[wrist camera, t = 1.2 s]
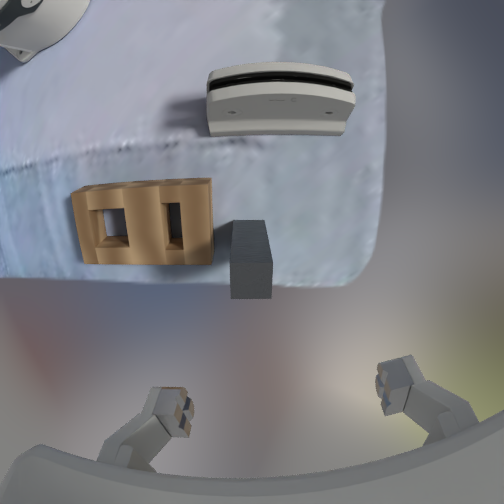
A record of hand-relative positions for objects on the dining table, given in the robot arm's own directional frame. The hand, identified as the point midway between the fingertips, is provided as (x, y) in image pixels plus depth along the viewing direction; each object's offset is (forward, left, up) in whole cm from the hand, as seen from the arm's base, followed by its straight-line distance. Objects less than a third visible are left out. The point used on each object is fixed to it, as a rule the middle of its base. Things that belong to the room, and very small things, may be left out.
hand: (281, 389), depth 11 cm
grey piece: (-4, +12, -29) cm, 32 cm away
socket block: (-11, -10, -29) cm, 32 cm away
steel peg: (+2, -5, -29) cm, 29 cm away
